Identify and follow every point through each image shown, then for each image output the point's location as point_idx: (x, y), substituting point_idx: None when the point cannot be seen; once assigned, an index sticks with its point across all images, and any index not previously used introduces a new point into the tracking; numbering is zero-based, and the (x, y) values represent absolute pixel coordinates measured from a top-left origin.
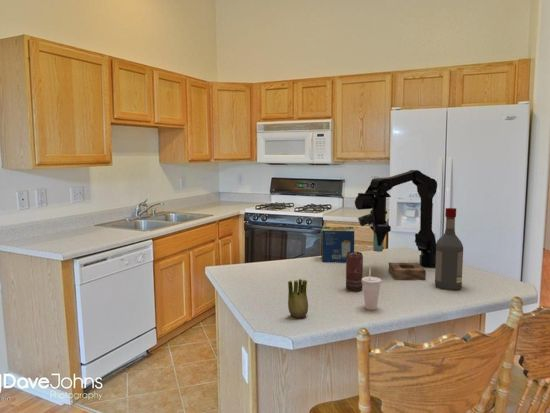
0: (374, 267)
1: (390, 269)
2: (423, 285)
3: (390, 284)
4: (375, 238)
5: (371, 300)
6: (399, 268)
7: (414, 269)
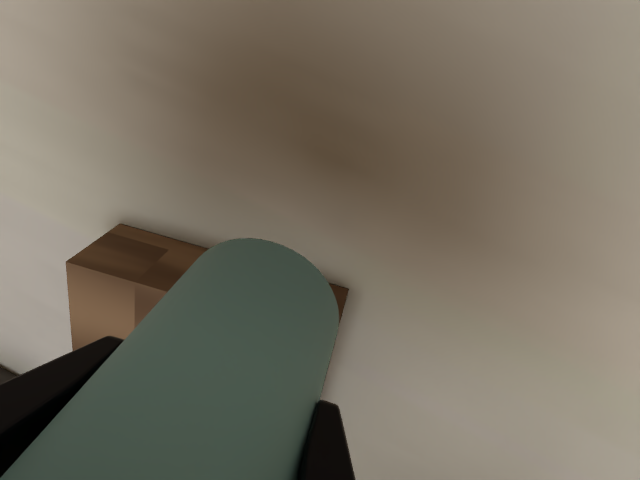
0: (527, 239)
1: None
2: (17, 324)
3: (7, 134)
4: (43, 434)
5: None
6: (122, 320)
7: None
